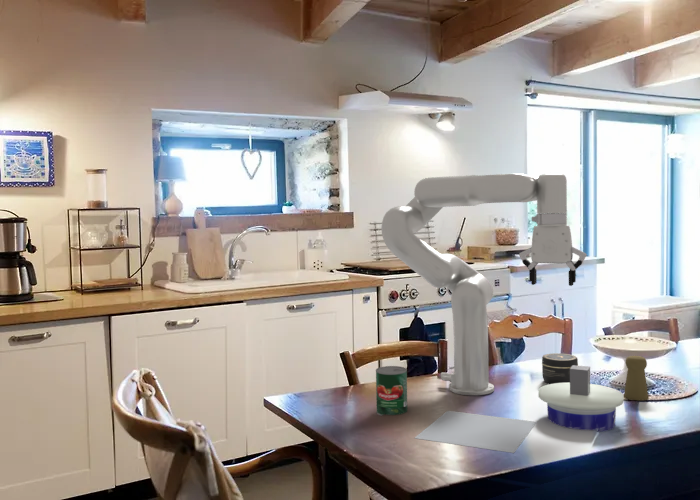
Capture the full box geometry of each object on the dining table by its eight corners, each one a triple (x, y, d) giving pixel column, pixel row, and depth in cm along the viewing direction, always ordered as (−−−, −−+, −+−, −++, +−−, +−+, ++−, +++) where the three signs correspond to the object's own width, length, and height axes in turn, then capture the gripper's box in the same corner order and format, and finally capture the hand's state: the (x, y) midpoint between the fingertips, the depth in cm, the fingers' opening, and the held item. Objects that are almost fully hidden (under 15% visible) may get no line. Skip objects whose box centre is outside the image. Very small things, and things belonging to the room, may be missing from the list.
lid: (530, 404, 151) (530, 373, 151) (546, 384, 168) (546, 356, 168) (619, 413, 143) (619, 381, 142) (626, 391, 159) (626, 362, 159)
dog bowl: (555, 410, 166) (555, 386, 166) (620, 418, 158) (620, 393, 158) (540, 427, 153) (540, 402, 152) (610, 437, 145) (610, 410, 145)
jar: (558, 376, 198) (558, 351, 198) (585, 383, 190) (585, 357, 189) (534, 381, 193) (534, 355, 193) (561, 388, 185) (561, 361, 184)
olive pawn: (651, 400, 171) (651, 359, 170) (626, 400, 172) (626, 358, 172) (645, 394, 177) (645, 354, 176) (621, 393, 178) (621, 353, 178)
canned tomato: (380, 418, 162) (379, 374, 161) (373, 409, 169) (372, 367, 169) (411, 415, 163) (410, 372, 162) (403, 406, 171) (402, 365, 170)
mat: (414, 440, 145) (414, 437, 145) (447, 413, 165) (447, 410, 164) (514, 455, 135) (514, 452, 135) (536, 424, 154) (536, 421, 154)
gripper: (515, 221, 175) (516, 285, 176) (584, 220, 167) (584, 287, 168) (522, 220, 182) (522, 282, 183) (588, 219, 174) (588, 284, 174)
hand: (552, 284), depth 175 cm, fingers open, 9 cm apart
